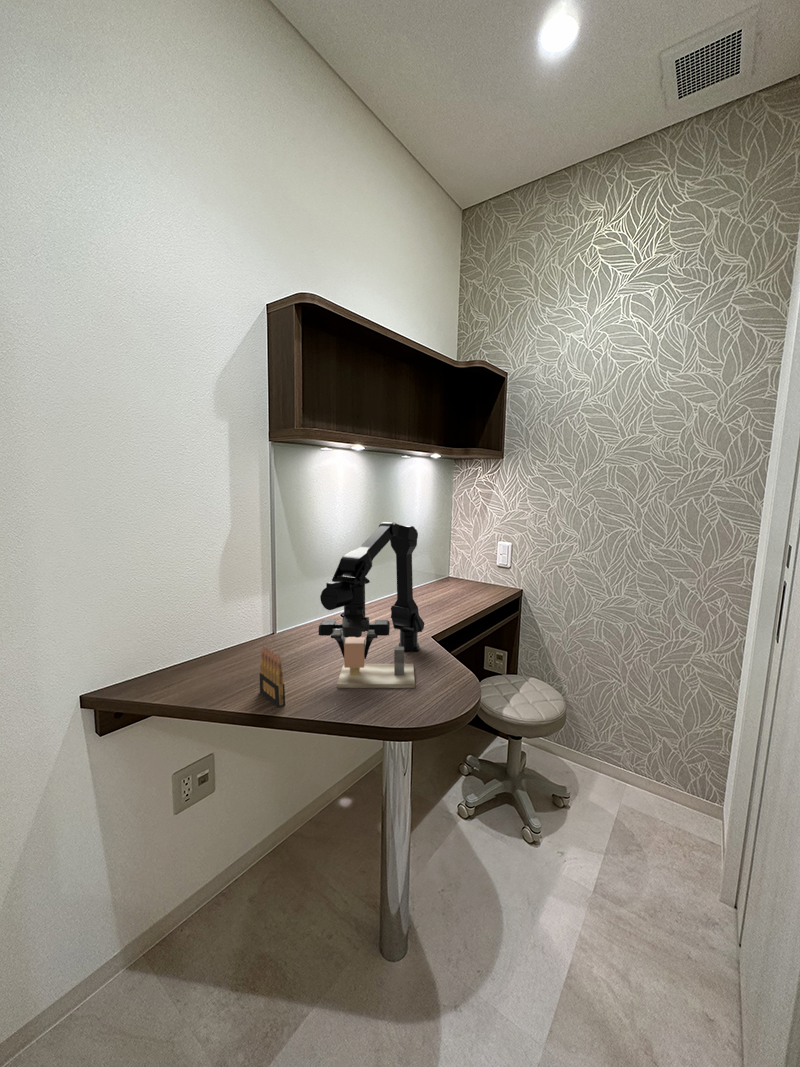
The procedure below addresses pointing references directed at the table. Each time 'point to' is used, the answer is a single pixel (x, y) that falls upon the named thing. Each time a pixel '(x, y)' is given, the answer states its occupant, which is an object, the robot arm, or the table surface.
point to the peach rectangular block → (354, 652)
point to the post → (354, 671)
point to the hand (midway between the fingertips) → (355, 658)
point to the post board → (380, 674)
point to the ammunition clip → (272, 678)
